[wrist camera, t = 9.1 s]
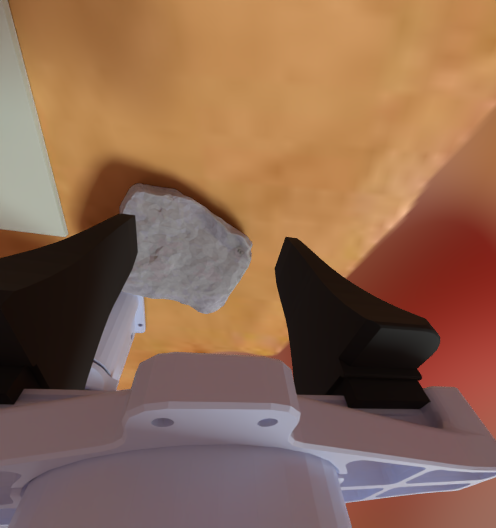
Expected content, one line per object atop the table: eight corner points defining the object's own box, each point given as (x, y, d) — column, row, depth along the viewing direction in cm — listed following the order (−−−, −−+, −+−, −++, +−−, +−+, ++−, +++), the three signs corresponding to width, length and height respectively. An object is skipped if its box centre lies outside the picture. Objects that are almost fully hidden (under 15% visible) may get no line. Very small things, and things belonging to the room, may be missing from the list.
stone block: (135, 162, 20) (104, 264, 24) (120, 171, 16) (86, 292, 20) (259, 219, 25) (218, 297, 28) (273, 237, 21) (223, 326, 24)
